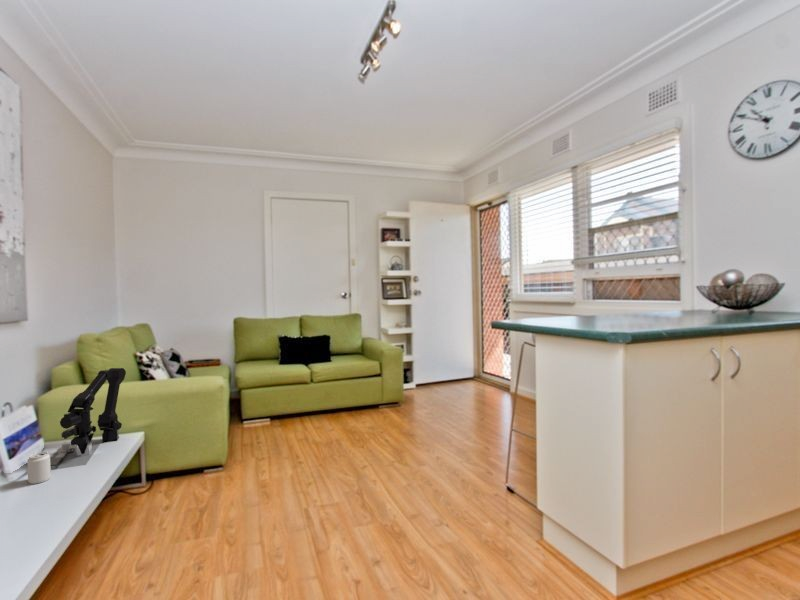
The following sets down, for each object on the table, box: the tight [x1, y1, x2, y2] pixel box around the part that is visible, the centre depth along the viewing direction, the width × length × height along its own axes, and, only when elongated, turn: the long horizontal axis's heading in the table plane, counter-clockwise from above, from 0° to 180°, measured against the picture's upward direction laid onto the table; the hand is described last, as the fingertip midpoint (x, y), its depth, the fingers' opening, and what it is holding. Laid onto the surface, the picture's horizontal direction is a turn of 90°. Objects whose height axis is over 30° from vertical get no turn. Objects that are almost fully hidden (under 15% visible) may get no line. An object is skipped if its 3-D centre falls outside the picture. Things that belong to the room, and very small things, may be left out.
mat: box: [50, 442, 102, 470], centre depth 203 cm, size 18×28×1 cm, turn 24°
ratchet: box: [50, 441, 76, 471], centre depth 200 cm, size 7×24×4 cm, turn 24°
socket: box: [76, 440, 93, 457], centre depth 206 cm, size 5×5×5 cm
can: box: [26, 451, 52, 485], centre depth 179 cm, size 8×8×12 cm
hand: (84, 451), depth 206 cm, fingers closed on socket, 5 cm apart
